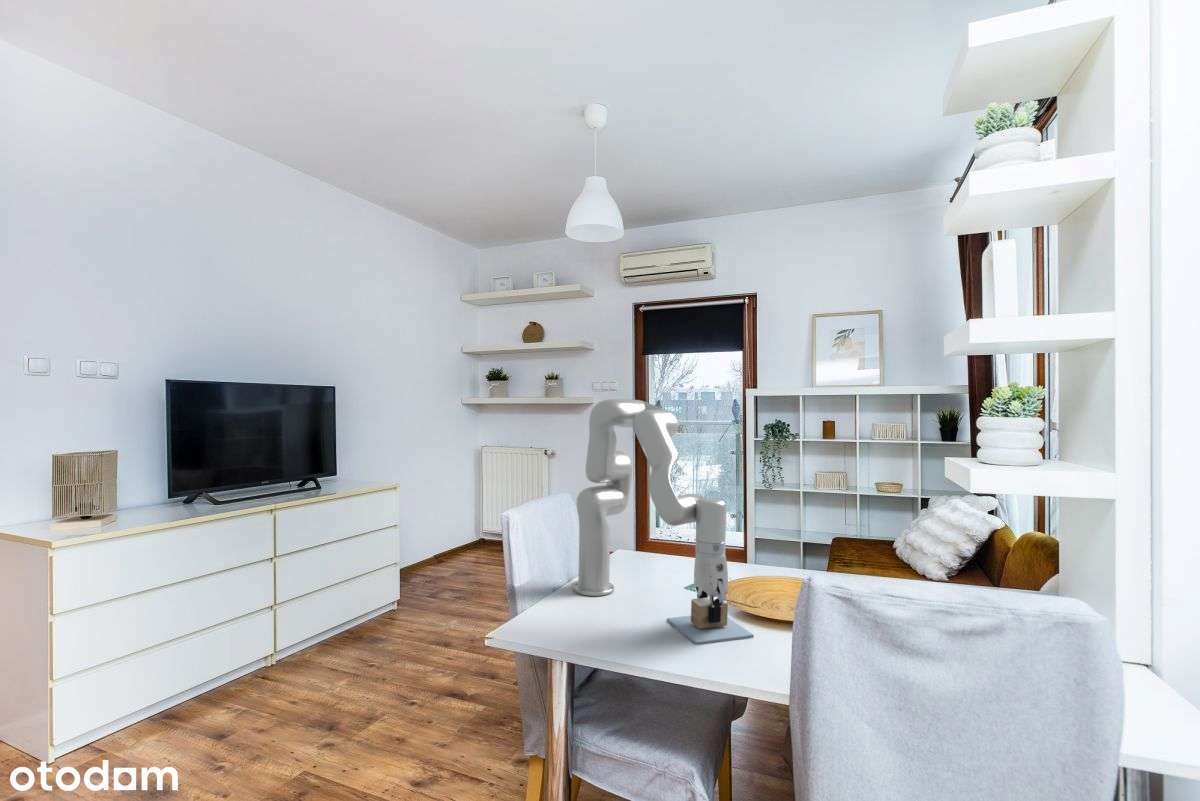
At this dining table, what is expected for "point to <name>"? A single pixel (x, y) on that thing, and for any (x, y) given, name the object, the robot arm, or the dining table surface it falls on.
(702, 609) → the block
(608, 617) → the dining table surface
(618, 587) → the dining table surface
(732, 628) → the mat
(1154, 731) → the dining table surface
